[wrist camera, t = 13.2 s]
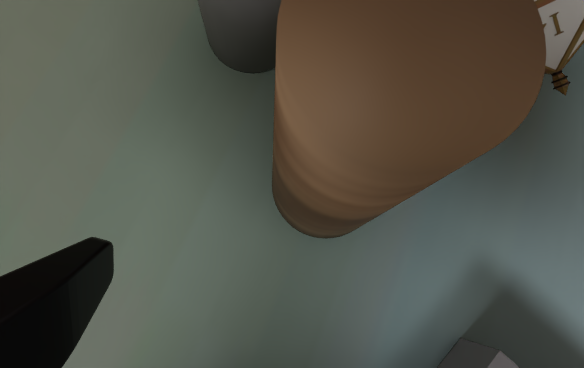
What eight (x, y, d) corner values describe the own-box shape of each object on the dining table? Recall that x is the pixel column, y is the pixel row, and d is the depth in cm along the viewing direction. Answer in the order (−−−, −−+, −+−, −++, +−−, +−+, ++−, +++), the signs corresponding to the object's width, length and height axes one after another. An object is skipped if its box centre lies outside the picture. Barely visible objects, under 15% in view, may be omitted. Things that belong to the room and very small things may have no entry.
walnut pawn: (372, 244, 19) (544, 185, 7) (265, 230, 19) (258, 147, 7) (381, 142, 20) (546, -62, 8) (279, 128, 20) (294, -99, 8)
